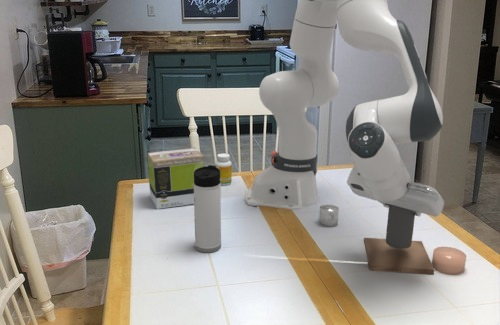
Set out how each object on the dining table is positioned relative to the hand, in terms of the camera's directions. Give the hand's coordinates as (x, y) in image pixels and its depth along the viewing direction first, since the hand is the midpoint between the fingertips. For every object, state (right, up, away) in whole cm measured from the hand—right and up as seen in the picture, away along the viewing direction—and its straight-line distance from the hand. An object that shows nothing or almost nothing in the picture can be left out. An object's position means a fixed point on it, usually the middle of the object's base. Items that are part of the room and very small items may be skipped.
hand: (403, 208), depth 117 cm
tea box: (-57, -1, +36) cm, 67 cm away
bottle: (-1, -8, +2) cm, 9 cm away
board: (-1, -12, +3) cm, 12 cm away
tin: (-14, -6, +20) cm, 25 cm away
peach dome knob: (+10, -13, -1) cm, 17 cm away
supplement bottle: (-44, +4, +50) cm, 67 cm away
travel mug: (-45, -10, +7) cm, 47 cm away
